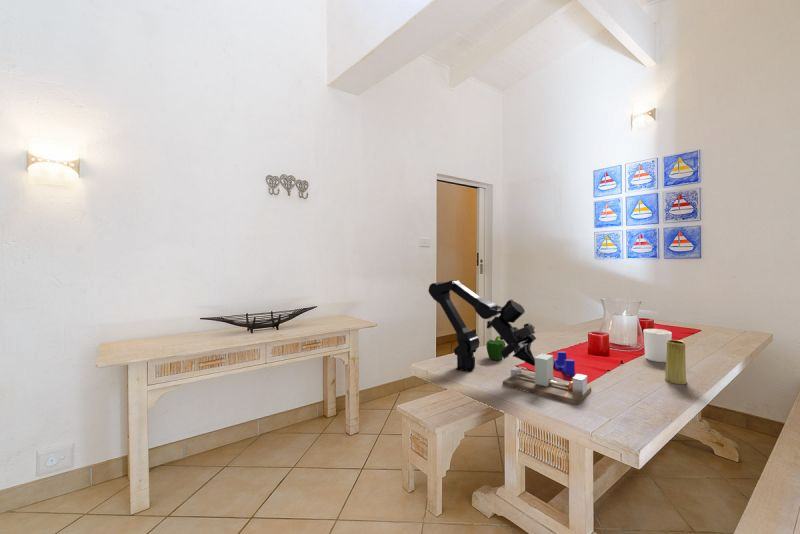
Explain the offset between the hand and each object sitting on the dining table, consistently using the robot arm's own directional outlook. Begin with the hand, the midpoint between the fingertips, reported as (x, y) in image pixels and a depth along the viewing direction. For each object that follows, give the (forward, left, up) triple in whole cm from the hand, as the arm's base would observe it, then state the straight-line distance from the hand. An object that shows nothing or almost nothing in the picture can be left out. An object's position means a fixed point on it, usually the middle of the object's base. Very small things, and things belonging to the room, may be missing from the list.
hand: (535, 365), depth 123 cm
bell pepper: (-17, +27, -8) cm, 33 cm away
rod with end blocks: (+4, -1, -7) cm, 8 cm away
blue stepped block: (+10, +20, -8) cm, 23 cm away
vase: (+46, +20, -8) cm, 51 cm away
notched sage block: (+3, -1, -5) cm, 6 cm away
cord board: (+3, -1, -7) cm, 8 cm away
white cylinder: (+47, +47, -8) cm, 67 cm away
